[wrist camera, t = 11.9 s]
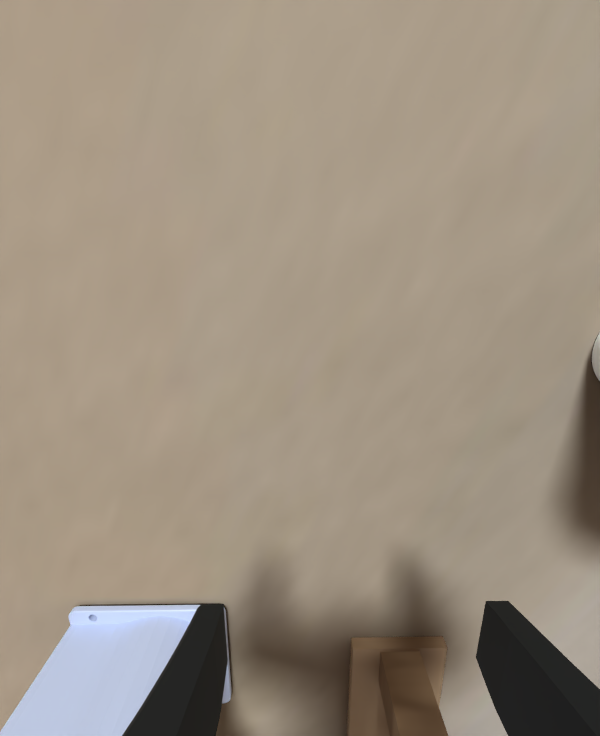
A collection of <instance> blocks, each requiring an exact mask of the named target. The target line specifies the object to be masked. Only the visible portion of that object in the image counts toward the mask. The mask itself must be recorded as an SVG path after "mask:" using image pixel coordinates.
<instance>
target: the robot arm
mask: <svg viewBox="0 0 600 736" xmlns="http://www.w3.org/2000/svg"><path fill="white" fill-rule="evenodd" d="M69 621H70V625H71V626H70V627H69V628H68V630H67V631H66V633H65V634H64V636H63V637H62V639H61V640H60V642H59V644H58V645H57V647H56V648H55V650H54V651H53V653H52V654H51V656H50V657H49V659H48V660H47V662H46V663H45V665H44V666H43V668H42V669H41V671H40V672H39V674H38V675H37V677H36V678H35V680H34V681H33V683H32V684H31V686H30V687H29V689H28V690H27V692H26V694H25V695H24V697H23V698H22V700H21V701H20V703H19V704H18V706H17V707H16V709H15V710H14V712H13V713H12V715H11V716H10V718H9V719H8V721H7V722H6V724H5V725H4V727H3V728H2V730H1V731H0V736H215V735H216V731H217V726H218V721H219V717H220V712H221V705H222V703H227V702H229V701H230V699H231V693H232V691H231V677H230V663H229V649H228V636H227V622H226V610H225V608H224V604H201V605H134V606H77V607H75V608H73V609H72V611H71V612H70V614H69ZM476 659H477V661H478V664H479V667H480V669H481V672H482V675H483V678H484V680H485V683H486V686H487V688H488V691H489V693H490V696H491V698H492V701H493V704H494V706H495V709H496V711H497V713H498V715H499V717H500V719H501V721H502V724H503V726H504V728H505V730H506V732H507V734H508V736H600V689H599V688H598V687H597V686H596V685H594V684H593V683H592V682H591V681H590V680H589V679H588V678H587V677H586V676H585V675H584V674H583V673H582V672H581V671H580V670H579V669H578V668H577V667H575V666H574V665H573V664H572V663H571V662H570V661H569V660H568V659H567V658H566V657H565V656H564V655H563V654H562V653H561V652H560V651H559V650H558V649H557V648H556V647H555V646H554V645H553V644H552V643H551V642H550V641H549V640H548V639H547V638H546V637H545V636H543V635H542V634H541V633H540V632H539V631H538V630H537V629H536V628H535V627H534V626H533V625H532V624H531V623H530V622H529V621H528V620H527V619H526V618H525V617H524V616H523V615H522V614H521V613H520V612H519V611H518V610H517V609H516V608H515V607H514V606H513V605H512V604H511V603H510V602H509V601H486V604H485V609H484V615H483V621H482V626H481V632H480V637H479V643H478V649H477V654H476Z"/></svg>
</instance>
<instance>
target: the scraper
mask: <svg viewBox="0 0 600 736" xmlns="http://www.w3.org/2000/svg"><path fill="white" fill-rule="evenodd" d="M446 654H447V646H446V643H445V641H444V638H443V636H425V637H359V638H351V657H350V678H349V700H348V722H347V736H448V734H447V731H446V728H445V725H444V722H443V719H442V716H441V713H440V710H439V703H440V696H441V689H442V682H443V675H444V668H445V661H446Z"/></svg>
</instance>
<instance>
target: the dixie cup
mask: <svg viewBox="0 0 600 736" xmlns="http://www.w3.org/2000/svg"><path fill="white" fill-rule="evenodd" d="M592 366H593V370H594V372H595V375H596V377H597V378H598V380H599V381H600V333H599V335H598V337H597V339H596V341H595V344H594V347H593V352H592Z"/></svg>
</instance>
